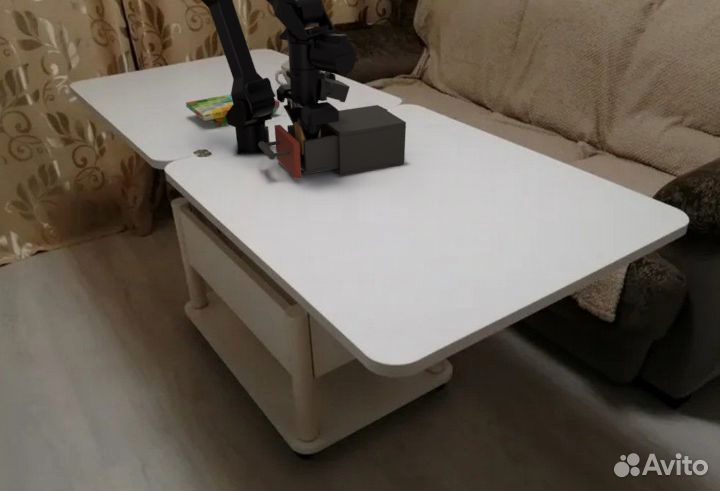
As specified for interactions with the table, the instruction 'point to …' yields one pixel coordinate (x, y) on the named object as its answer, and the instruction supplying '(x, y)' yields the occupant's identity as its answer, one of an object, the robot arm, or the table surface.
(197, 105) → the puzzle game
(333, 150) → the red-fronted drawer
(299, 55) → the robot arm
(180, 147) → the table surface
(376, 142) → the drawer cabinet casing
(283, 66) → the teacup
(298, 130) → the oak block
